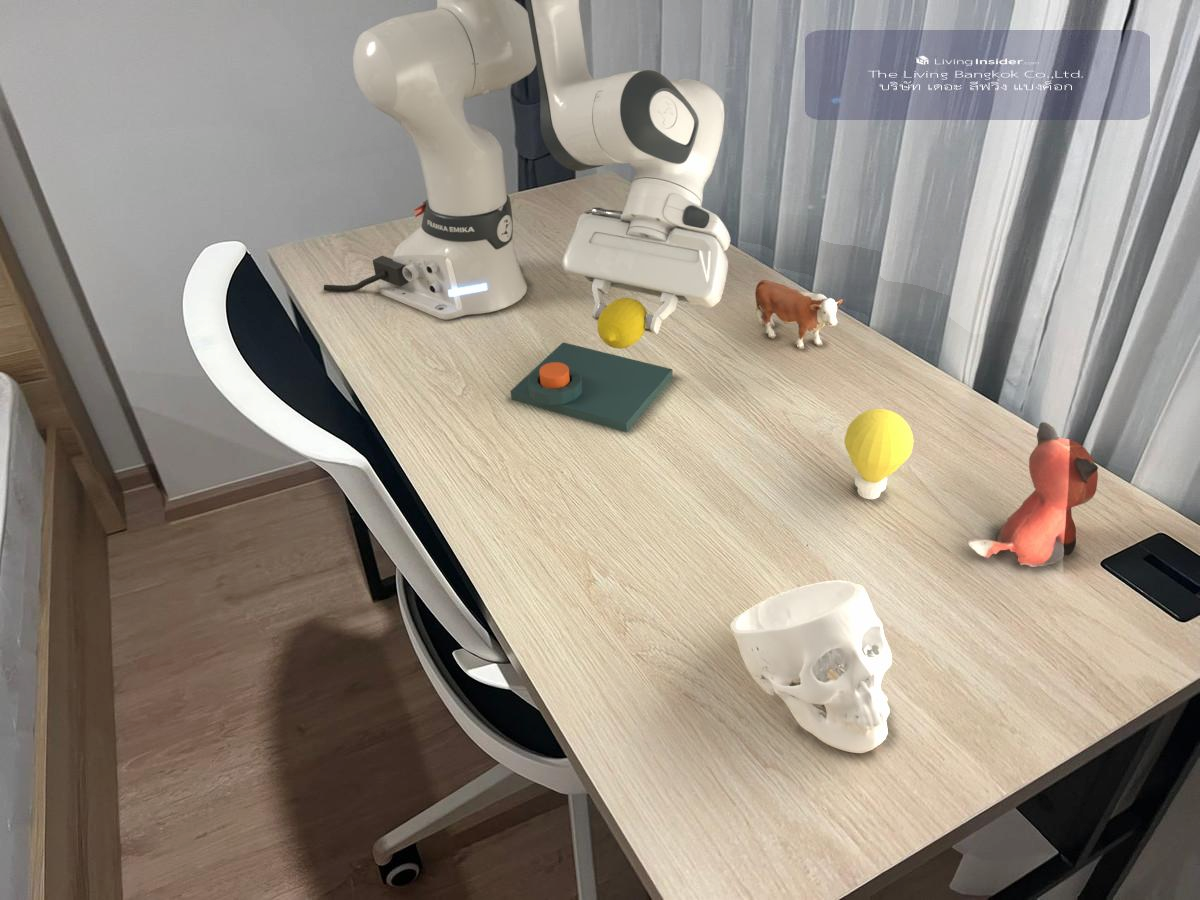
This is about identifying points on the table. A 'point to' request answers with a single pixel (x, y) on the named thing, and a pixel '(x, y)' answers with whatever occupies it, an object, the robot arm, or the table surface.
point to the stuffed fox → (1047, 503)
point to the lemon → (622, 323)
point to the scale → (596, 387)
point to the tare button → (554, 375)
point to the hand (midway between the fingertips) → (624, 325)
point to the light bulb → (877, 448)
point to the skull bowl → (821, 660)
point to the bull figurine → (795, 309)
